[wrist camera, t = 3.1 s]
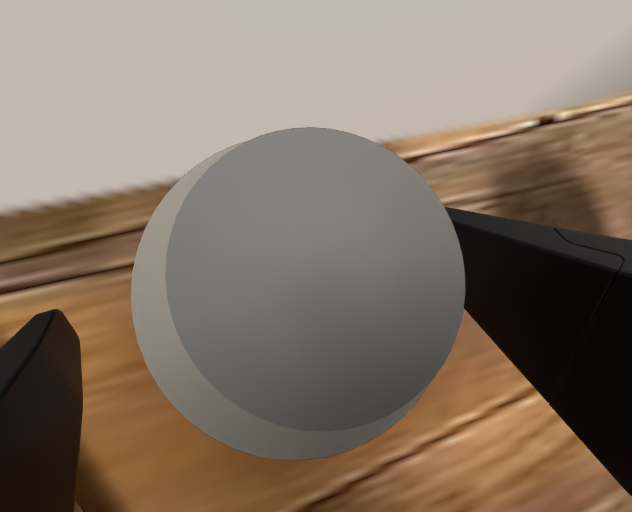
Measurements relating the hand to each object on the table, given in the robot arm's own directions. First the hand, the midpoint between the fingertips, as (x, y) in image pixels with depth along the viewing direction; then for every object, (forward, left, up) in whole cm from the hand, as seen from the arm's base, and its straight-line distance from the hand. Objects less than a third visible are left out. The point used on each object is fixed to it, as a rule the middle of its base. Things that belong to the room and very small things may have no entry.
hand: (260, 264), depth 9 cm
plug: (-1, 0, -7) cm, 7 cm away
